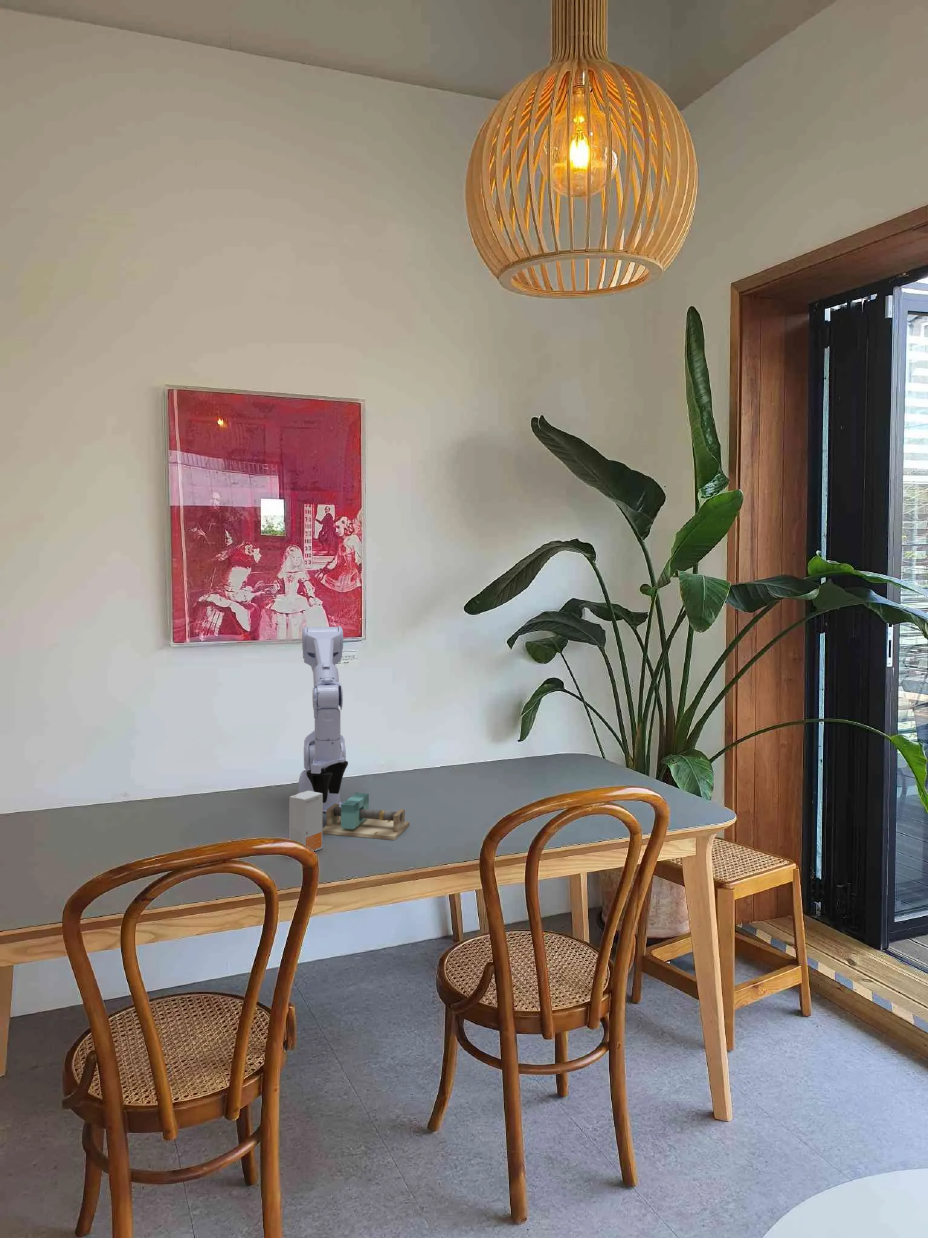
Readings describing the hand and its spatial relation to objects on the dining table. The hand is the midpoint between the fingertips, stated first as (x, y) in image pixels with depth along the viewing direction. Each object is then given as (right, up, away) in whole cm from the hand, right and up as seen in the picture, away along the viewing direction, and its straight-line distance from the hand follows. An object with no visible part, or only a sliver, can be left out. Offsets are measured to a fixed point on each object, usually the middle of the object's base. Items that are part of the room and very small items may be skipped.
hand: (327, 797), depth 219 cm
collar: (+6, -5, -1) cm, 8 cm away
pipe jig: (+9, -7, -1) cm, 11 cm away
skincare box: (-2, -8, -16) cm, 18 cm away
